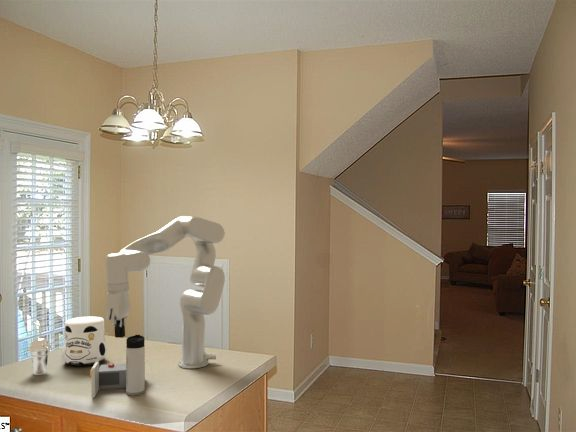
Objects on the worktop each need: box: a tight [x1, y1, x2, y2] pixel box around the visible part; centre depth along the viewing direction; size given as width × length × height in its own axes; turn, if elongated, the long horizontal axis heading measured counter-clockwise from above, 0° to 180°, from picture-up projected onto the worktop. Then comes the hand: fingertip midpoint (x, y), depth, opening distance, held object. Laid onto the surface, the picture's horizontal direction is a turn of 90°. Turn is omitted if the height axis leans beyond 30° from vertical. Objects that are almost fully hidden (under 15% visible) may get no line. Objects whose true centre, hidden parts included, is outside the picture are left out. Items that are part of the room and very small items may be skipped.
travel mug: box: [125, 334, 146, 397], centre depth 179 cm, size 6×7×20 cm
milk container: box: [62, 315, 108, 367], centre depth 214 cm, size 17×17×18 cm
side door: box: [89, 361, 100, 398], centre depth 177 cm, size 9×2×10 cm, turn 11°
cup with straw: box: [27, 320, 53, 376], centre depth 199 cm, size 8×9×20 cm
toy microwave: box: [99, 362, 126, 390], centre depth 187 cm, size 16×9×7 cm, turn 103°
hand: (120, 336), depth 184 cm, fingers closed
